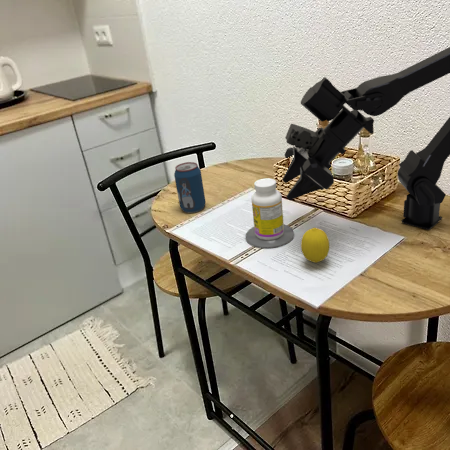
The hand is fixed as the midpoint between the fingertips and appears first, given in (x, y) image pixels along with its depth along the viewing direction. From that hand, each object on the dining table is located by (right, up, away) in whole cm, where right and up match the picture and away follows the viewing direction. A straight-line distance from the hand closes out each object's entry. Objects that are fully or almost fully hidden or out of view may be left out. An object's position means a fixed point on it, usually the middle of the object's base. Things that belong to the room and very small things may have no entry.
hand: (285, 189), depth 102 cm
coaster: (-3, -10, +5) cm, 12 cm away
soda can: (-22, -3, +24) cm, 32 cm away
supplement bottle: (-3, -10, +5) cm, 12 cm away
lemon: (+5, -15, -6) cm, 18 cm away
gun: (+12, +5, +32) cm, 35 cm away
